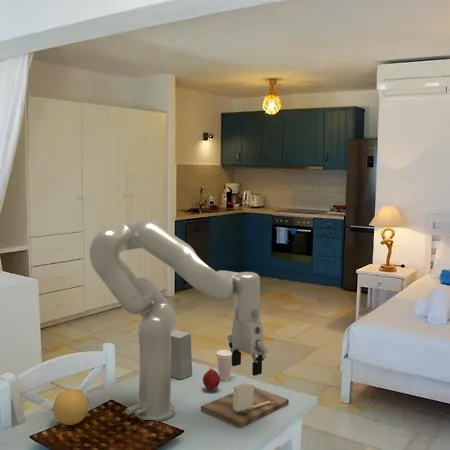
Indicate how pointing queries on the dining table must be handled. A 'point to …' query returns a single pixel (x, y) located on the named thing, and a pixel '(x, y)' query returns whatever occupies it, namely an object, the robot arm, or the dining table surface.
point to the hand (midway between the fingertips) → (246, 369)
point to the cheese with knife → (244, 398)
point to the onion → (211, 379)
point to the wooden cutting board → (226, 413)
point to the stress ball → (70, 407)
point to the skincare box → (181, 354)
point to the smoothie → (224, 363)
